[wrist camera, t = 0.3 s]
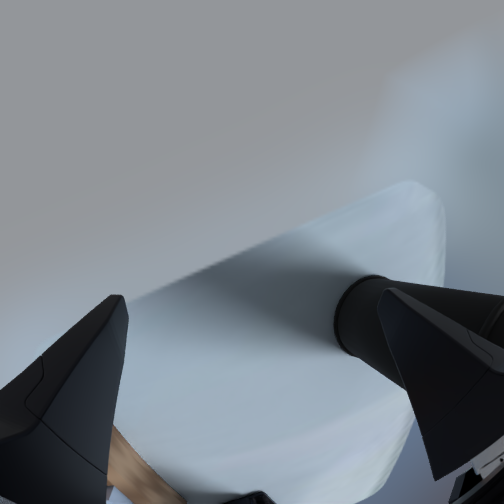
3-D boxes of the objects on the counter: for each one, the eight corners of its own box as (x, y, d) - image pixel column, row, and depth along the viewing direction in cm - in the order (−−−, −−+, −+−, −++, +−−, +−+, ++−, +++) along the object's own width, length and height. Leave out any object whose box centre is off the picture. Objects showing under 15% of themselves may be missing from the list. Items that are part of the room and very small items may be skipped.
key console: (186, 501, 22) (185, 529, 17) (137, 508, 21) (131, 533, 16) (106, 415, 21) (90, 442, 16) (60, 428, 20) (41, 451, 15)
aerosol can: (331, 280, 24) (551, 326, 4) (402, 270, 25) (586, 285, 5) (332, 364, 24) (485, 495, 4) (401, 347, 25) (554, 416, 5)
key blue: (136, 495, 18) (130, 518, 14) (115, 497, 18) (108, 518, 14) (117, 477, 18) (108, 500, 14) (97, 480, 18) (87, 501, 14)
